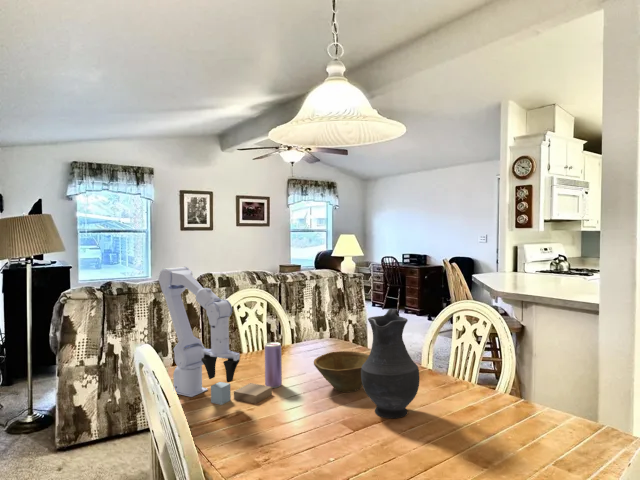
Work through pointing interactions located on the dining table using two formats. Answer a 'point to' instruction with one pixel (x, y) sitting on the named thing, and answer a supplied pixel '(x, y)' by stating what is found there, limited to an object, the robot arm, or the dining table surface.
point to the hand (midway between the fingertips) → (220, 379)
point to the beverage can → (273, 365)
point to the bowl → (342, 369)
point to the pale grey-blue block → (220, 393)
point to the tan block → (252, 393)
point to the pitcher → (389, 367)
